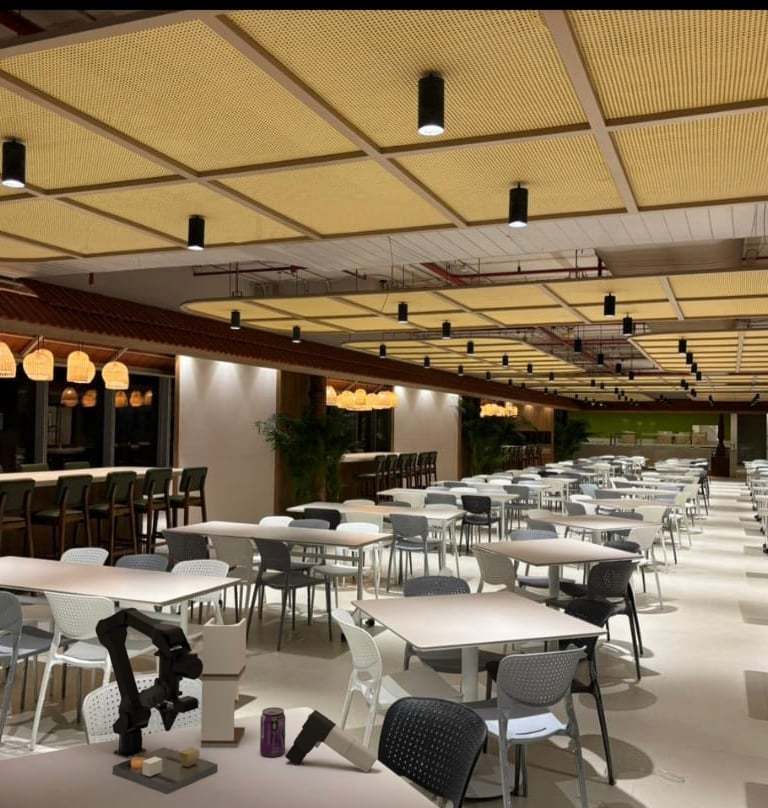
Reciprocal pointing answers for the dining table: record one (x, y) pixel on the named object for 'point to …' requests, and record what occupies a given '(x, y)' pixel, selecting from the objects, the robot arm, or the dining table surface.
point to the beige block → (152, 766)
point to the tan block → (189, 757)
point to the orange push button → (137, 762)
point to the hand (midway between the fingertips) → (167, 730)
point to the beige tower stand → (222, 683)
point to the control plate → (166, 771)
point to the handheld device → (329, 742)
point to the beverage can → (272, 731)
